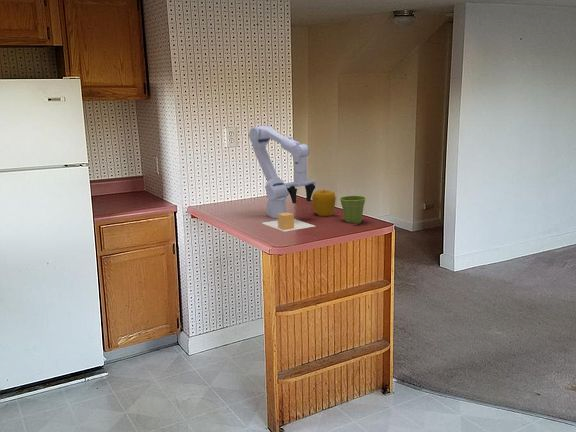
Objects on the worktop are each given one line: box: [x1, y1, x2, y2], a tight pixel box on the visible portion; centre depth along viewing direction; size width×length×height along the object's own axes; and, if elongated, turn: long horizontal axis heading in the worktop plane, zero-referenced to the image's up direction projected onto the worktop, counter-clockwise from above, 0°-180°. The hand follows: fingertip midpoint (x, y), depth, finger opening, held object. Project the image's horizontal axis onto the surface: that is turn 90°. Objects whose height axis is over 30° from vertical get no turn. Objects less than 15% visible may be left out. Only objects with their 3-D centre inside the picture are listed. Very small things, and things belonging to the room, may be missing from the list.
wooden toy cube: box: [277, 211, 295, 230], centre depth 245 cm, size 5×5×6 cm
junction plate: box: [261, 218, 315, 232], centre depth 252 cm, size 20×16×4 cm
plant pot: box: [339, 195, 367, 225], centre depth 255 cm, size 12×12×11 cm
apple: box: [311, 189, 337, 217], centre depth 269 cm, size 11×11×13 cm
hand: (301, 202), depth 257 cm, fingers open, 7 cm apart
